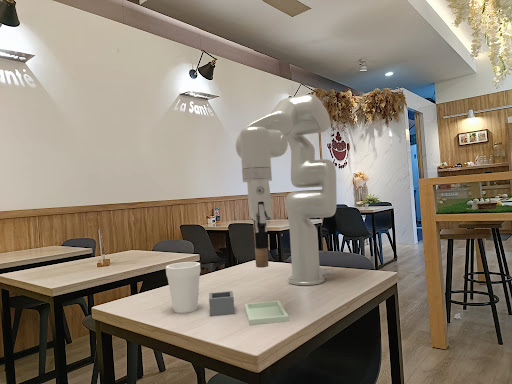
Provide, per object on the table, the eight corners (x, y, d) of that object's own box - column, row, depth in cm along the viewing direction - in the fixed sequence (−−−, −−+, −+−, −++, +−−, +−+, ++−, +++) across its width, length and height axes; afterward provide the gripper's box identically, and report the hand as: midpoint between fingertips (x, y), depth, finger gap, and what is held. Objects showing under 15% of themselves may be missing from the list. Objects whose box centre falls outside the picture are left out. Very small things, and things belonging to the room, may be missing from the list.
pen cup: (233, 308, 107) (232, 290, 107) (234, 316, 101) (233, 297, 101) (210, 311, 106) (209, 293, 106) (210, 318, 100) (209, 299, 100)
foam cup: (171, 307, 112) (168, 263, 112) (203, 305, 112) (200, 260, 112) (166, 318, 102) (163, 269, 102) (201, 315, 103) (198, 267, 103)
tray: (244, 310, 105) (244, 303, 105) (279, 307, 106) (279, 300, 106) (249, 327, 91) (249, 319, 91) (289, 323, 93) (288, 316, 93)
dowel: (267, 264, 100) (265, 226, 100) (269, 266, 97) (266, 227, 97) (255, 265, 100) (253, 227, 100) (256, 267, 97) (254, 228, 97)
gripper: (276, 173, 91) (281, 250, 91) (266, 176, 107) (270, 242, 107) (245, 174, 90) (249, 252, 90) (240, 178, 106) (244, 244, 106)
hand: (261, 246), depth 99 cm, fingers closed on dowel, 3 cm apart
